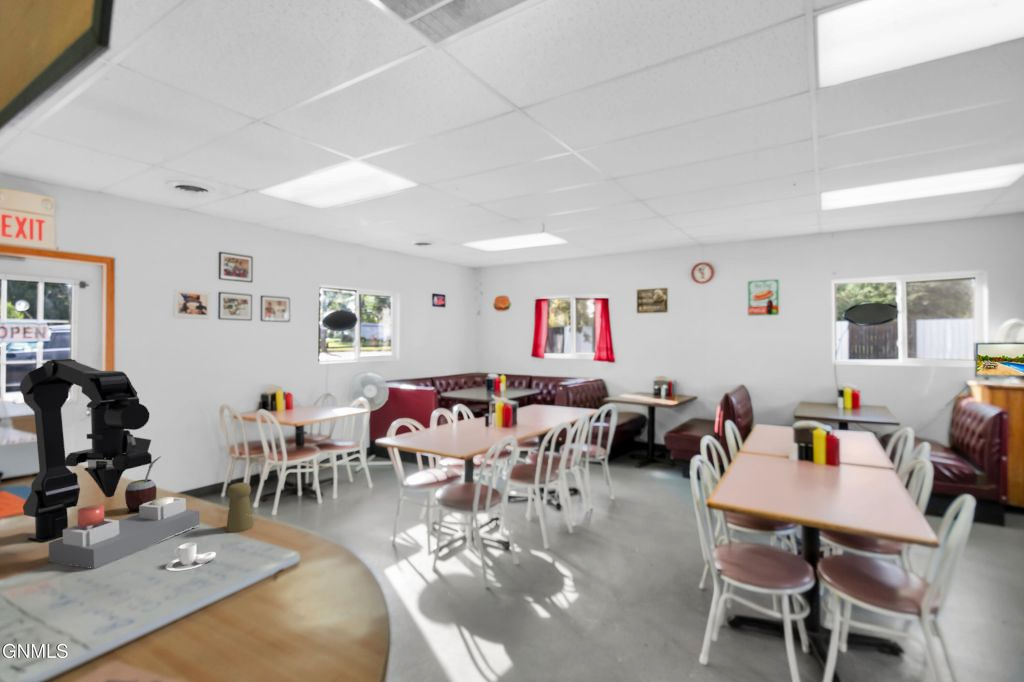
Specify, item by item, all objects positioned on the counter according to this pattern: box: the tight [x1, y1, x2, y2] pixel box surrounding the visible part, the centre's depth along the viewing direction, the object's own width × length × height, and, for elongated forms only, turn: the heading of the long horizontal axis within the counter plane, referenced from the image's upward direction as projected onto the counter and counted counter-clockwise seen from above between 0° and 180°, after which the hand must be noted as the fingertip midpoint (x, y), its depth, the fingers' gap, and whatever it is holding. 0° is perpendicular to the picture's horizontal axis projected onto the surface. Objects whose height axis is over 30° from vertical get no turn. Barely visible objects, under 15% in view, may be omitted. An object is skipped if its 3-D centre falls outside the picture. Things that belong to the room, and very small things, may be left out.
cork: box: [225, 482, 254, 533], centre depth 124 cm, size 6×6×11 cm
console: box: [48, 496, 200, 569], centre depth 116 cm, size 14×24×7 cm, turn 162°
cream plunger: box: [152, 496, 174, 506], centre depth 124 cm, size 4×4×3 cm
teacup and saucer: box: [165, 542, 217, 572], centre depth 104 cm, size 9×8×4 cm
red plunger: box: [77, 504, 105, 527], centre depth 109 cm, size 4×4×3 cm
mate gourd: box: [124, 455, 161, 514], centre depth 140 cm, size 8×8×15 cm
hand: (109, 496), depth 112 cm, fingers closed
